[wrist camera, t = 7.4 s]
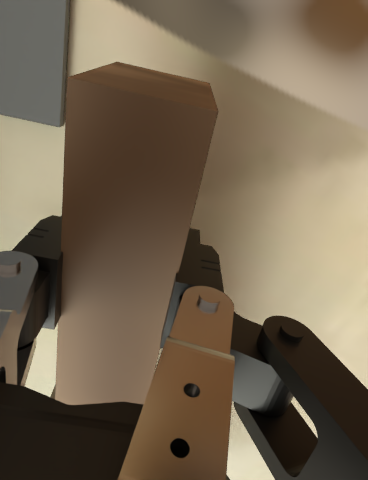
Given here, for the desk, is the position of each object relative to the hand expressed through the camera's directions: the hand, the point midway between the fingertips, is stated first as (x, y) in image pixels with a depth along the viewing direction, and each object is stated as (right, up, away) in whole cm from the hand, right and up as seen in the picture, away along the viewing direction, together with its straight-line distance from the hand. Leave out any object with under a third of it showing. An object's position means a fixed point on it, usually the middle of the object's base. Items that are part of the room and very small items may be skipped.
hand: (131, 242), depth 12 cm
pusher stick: (0, -1, +3) cm, 3 cm away
